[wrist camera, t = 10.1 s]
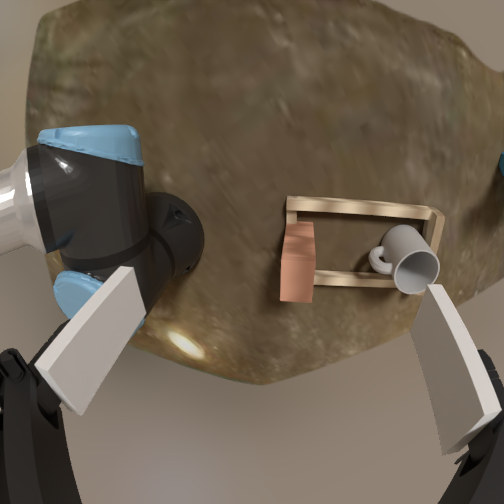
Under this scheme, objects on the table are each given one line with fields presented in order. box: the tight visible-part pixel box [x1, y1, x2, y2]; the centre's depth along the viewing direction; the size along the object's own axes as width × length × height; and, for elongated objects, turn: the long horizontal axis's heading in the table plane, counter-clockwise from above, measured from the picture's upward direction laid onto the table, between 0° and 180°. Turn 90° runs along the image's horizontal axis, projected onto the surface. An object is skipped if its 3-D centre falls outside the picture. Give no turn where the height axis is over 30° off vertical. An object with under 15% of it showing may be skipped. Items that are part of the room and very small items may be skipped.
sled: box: [280, 196, 445, 303], centre depth 38 cm, size 24×14×12 cm, turn 92°
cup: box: [369, 225, 440, 294], centre depth 39 cm, size 7×10×9 cm
